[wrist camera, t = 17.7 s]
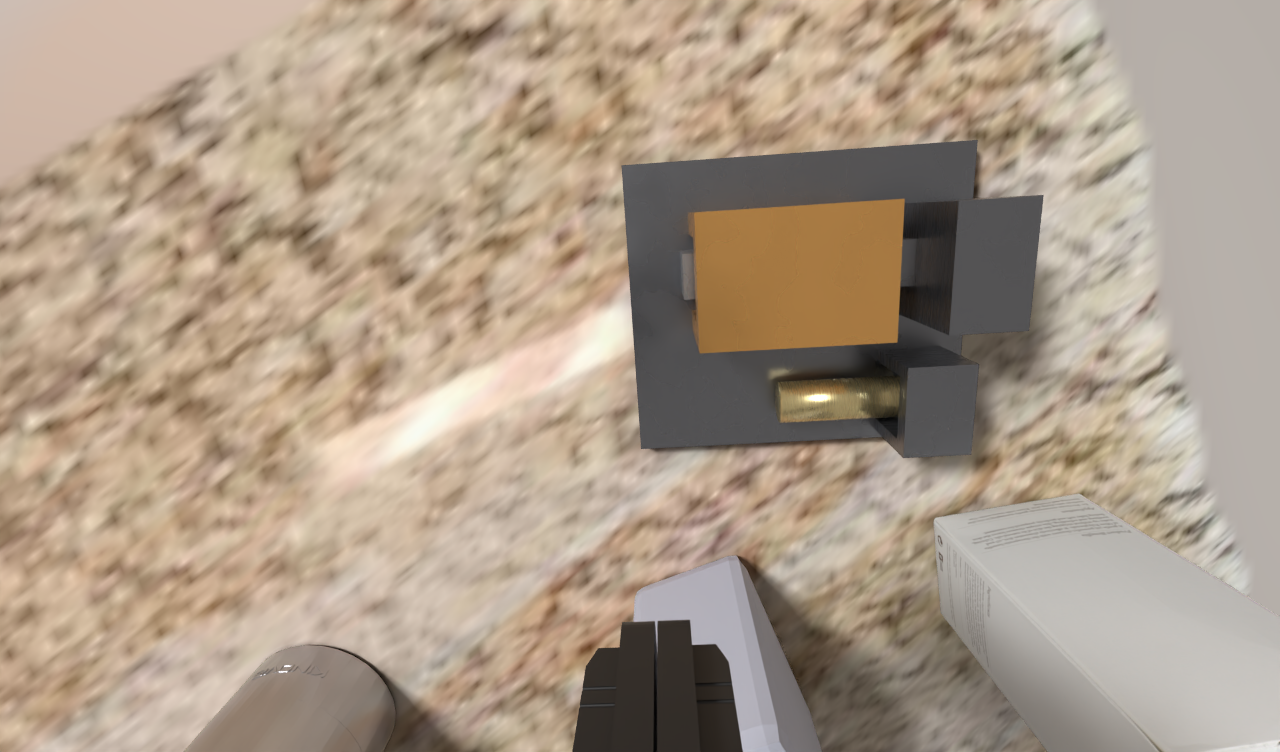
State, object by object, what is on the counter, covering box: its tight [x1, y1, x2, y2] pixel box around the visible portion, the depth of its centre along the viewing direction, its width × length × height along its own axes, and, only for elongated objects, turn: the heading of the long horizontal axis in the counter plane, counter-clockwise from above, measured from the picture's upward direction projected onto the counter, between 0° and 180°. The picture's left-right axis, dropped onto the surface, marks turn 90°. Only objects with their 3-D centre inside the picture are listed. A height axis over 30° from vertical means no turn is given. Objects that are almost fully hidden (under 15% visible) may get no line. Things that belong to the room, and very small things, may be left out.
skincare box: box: [934, 494, 1280, 752], centre depth 26 cm, size 8×7×16 cm
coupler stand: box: [622, 140, 1043, 458], centre depth 26 cm, size 14×16×7 cm
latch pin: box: [775, 375, 900, 423], centre depth 29 cm, size 2×6×2 cm, turn 94°
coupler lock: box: [688, 199, 905, 353], centre depth 26 cm, size 6×8×5 cm
